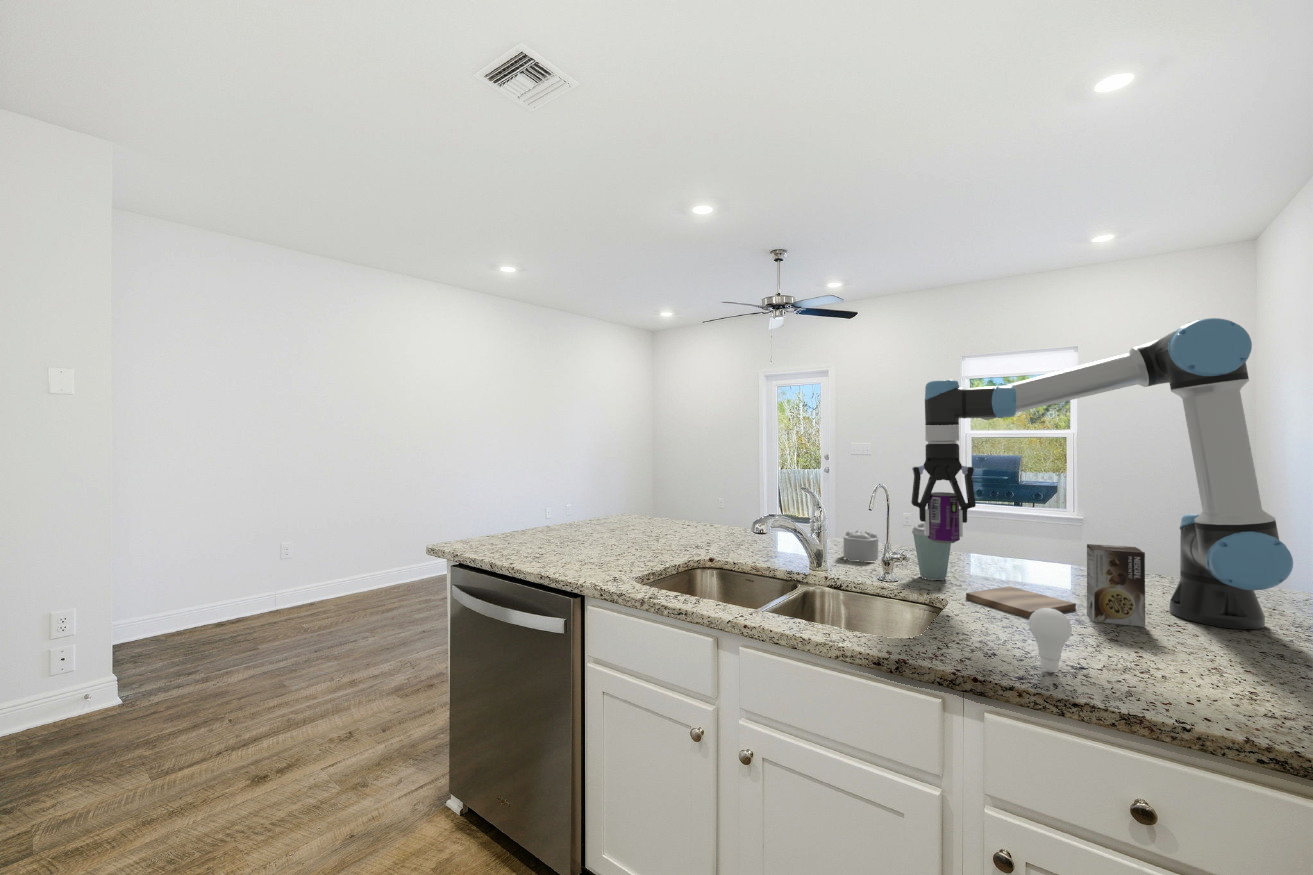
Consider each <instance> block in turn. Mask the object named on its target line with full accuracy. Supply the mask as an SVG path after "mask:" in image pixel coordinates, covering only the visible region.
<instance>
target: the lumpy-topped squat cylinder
mask: <svg viewBox="0 0 1313 875" xmlns="http://www.w3.org/2000/svg"><path fill="white" fill-rule="evenodd" d="M842 548H843V554H842V555H843V557H844V558H846V559H849V560H859V561H876V560H877V559H878V560H879V536H878V534H877V533H875V532H871V531H870V530H866V531H864V532H863V531H862V530H860V529H858V530H855V532H853V531H852V530H847V531H846V532H845V535H843V547H842ZM878 560H877V561H878ZM877 561H876V562H877Z"/></svg>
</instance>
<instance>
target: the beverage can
mask: <svg viewBox="0 0 1313 875" xmlns="http://www.w3.org/2000/svg"><path fill="white" fill-rule="evenodd" d="M927 508H928V509H929V536H928V538H929V539H930V540H932V541H933V542H937V543H951V544H954V543H956V542H958V541H960V540H961V537H959V509H960V506H959V500H958V498H957V494H955V493H954V492H946V491H945V492H943V491H942V492H941V491H939V492H937V491H935V492H933V491H932V492H931V495H930V498H929V500H928V503H927Z"/></svg>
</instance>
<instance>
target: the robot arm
mask: <svg viewBox="0 0 1313 875" xmlns="http://www.w3.org/2000/svg"><path fill="white" fill-rule="evenodd" d="M1252 347H1253V343H1252V338H1251V336H1250V334H1249V333H1248V331H1247V330H1246V329H1245V328H1244V327H1243V326H1241V325H1240V324H1238V323H1236V322H1235V321H1232V320H1229V319H1225V318H1218V317H1215V318H1214V317H1209V318H1203V319H1197V320H1194V321H1190V322H1187V323H1185V324H1183V325H1182V326H1180V327H1177V329H1175V330H1174V331H1172V332H1170V333H1168V334H1166V335H1165V336H1163V337H1162V336H1161V337H1160V338H1158V339H1156V340H1153V341H1151V342H1147V343H1145V344H1142V345H1138V346H1134V347H1132V348H1130V350H1129V351H1128V352H1127V353H1124V354H1121V355H1117V356H1113V357H1108V358H1106V359H1105V358H1104V359H1101V360H1097V361H1094V362H1089V363H1085V364H1081V365H1077V366H1074V367H1071V368H1066V369H1063V370H1058V371H1053V372H1051V373H1047V374H1046V373H1045V374H1044V375H1040V376H1036V377H1035V376H1034V377H1032V378H1028V379H1024V380H1021V381H1016V382H1012V383H1009V384H1006V385H1005V384H1003V385H995V386H978V387H960V385H959V381H958V380H955V379H940V380H931V381H929V382H927V383H926V385H925V388H924V389H925V390H924V392H925V393H924V420H925V423H924V424H925V426H924V427H925V441H926V445H925V446H924V447H925V461H924V463H923V465H919V466H917V465H916V466H915V465H914V466H912V468H911V469H912V473H913V484H912V493H911V502H910V503H911V505H912V506H914V507H916V508H918V509H919V520H920V523H924V534H925V535H926V536H929V509H928V507H927V506H928V500H929V498H930V495H931V493H932V492H933V491H934V487H935V484H936V482H937V481H949V484H950V486H951V489H952V491H953V493H955V494H957V498H958V500H959V537H960V538H963V535H964V534H963V533H964V532H963V530H964V529H963V524H964V523H965V524H966V523H967V522H968V510H969V509H971V508H972V509H973V508H976V497H975V489H974V481H973V475H974V471H975V469H974V467H972V466H967V465H966V466H965V465H962V463H961V461H960V445H959V443H957V442H959V441H960V423H959V421H960V419H981V420H986V421H988V420H993V419H1003V418H1013V417H1015V415H1016V414H1017V413H1019V412H1025V411H1028V410H1029V411H1030V410H1033V409H1038V408H1041V407H1045V406H1051V405H1055V404H1058V403H1059V404H1060V403H1063V402H1067V401H1072V400H1077V399H1080V398H1084V397H1089V396H1094V395H1098V394H1102V393H1106V392H1107V393H1108V392H1111V391H1115V390H1119V389H1123V388H1127V387H1128V388H1129V387H1132V386H1136V385H1137V386H1138V385H1139V386H1141V387H1144V388H1147V387H1152V386H1156V385H1160V384H1161V385H1162V384H1168V383H1169V388H1170V392H1171V393H1173V394H1175V395H1177V396H1178V397H1180V398H1181V400H1182V405H1183V410H1184V416H1185V422H1186V427H1187V432H1188V437H1189V442H1190V443H1189V444H1190V449H1191V455H1192V460H1193V465H1194V471H1195V476H1196V481H1197V488H1198V493H1199V498H1200V499H1199V500H1200V505H1201V509H1202V511H1201V513H1200V514H1194V513H1189V514H1184V515H1183V516H1181V518H1180V519H1181V521H1180V525H1179V530H1180V550H1179V551H1180V558H1179V563H1180V564H1179V568H1180V569H1179V570H1180V572H1179V575H1180V576H1179V577H1180V578H1179V581H1178V583H1177V585H1176V588H1174V589H1175V590H1174V591H1173V594H1172V596H1171V598H1170V600H1169V609H1168V610H1169V613H1171V614H1172V615H1174V616H1177V617H1178V618H1181V619H1183V620H1187V621H1191V622H1195V623H1198V622H1199V624H1203V625H1207V624H1208V626H1213V627H1218V626H1219V628H1225V629H1227V628H1228V629H1233V628H1234V629H1235V630H1246V629H1255V630H1261V629H1260V628H1262V629H1264V628H1265V627H1266V616H1265V614H1264V611H1263V608H1262V607H1261V604H1260V602H1259V600H1258V597H1257V594H1256V592H1255V591H1263V590H1267V589H1268V590H1269V589H1272V588H1274V587H1277V586H1278V585H1280V584H1281V583H1283V582H1285V581H1286V580H1287V579H1288V578H1289V576H1290V575H1291V573H1292V571H1293V568H1294V567H1293V566H1294V559H1293V556H1292V553H1291V551H1290V549H1288V547H1287V545H1286V544H1285V543H1284V542H1282V541H1281V540H1280V536H1279V532H1278V531H1279V530H1278V526H1277V522H1276V520H1277V519H1276V517H1275V516H1273V515H1272V514H1270V513H1268V512H1266V511H1265V510H1264V509H1263V507H1262V501H1261V495H1260V491H1259V485H1258V480H1257V475H1256V469H1255V465H1254V459H1253V454H1252V448H1251V441H1250V439H1249V438H1250V437H1249V433H1248V432H1249V431H1248V426H1247V422H1246V417H1245V416H1246V414H1245V410H1244V406H1243V404H1244V403H1243V399H1242V395H1241V390H1242V389H1243V387H1245V385H1246V384H1248V383H1249V381H1250V379H1249V378H1250V377H1249V374H1248V373H1249V372H1248V366H1247V361H1248V360H1249V358H1250V355H1251V353H1252ZM924 470H925V472H927V474H928V476H929V477H928V481H927V483H926V486H925V489H924V491H923V494H922V497H921V500H920V501H919V499H920V498H919V496H920V486H921V479H922V478H921V477H922V475H923V474H924ZM960 471H961V472H962V474H963V475H964V484H965V490H966V491H965V492H966V500H967V502H966V500H965V498H964V495H963V492H962V490H961V488H960V486H959V483H958V480H957V477H956V476H957V475H958V474H959V472H960Z"/></svg>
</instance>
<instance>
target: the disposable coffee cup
mask: <svg viewBox="0 0 1313 875" xmlns="http://www.w3.org/2000/svg"><path fill="white" fill-rule="evenodd" d="M911 534H913V540H914V545H915V546H914V547H915V552H916V558H917V563H918V569H919V574H920V577H923V578H926V579H933V580H942V581H944V580H943V579H945V580H946V578H947V574H948V568H949V560H950V553H951V545H952V543H937V542H933V541H932V540H930V539H929V538H928V536H926V535H925V534H924V522H919V523H916V524H914V525H913V528H912V530H911ZM923 578H922V579H923ZM926 579H925V580H926ZM933 580H932V581H933Z"/></svg>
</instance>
